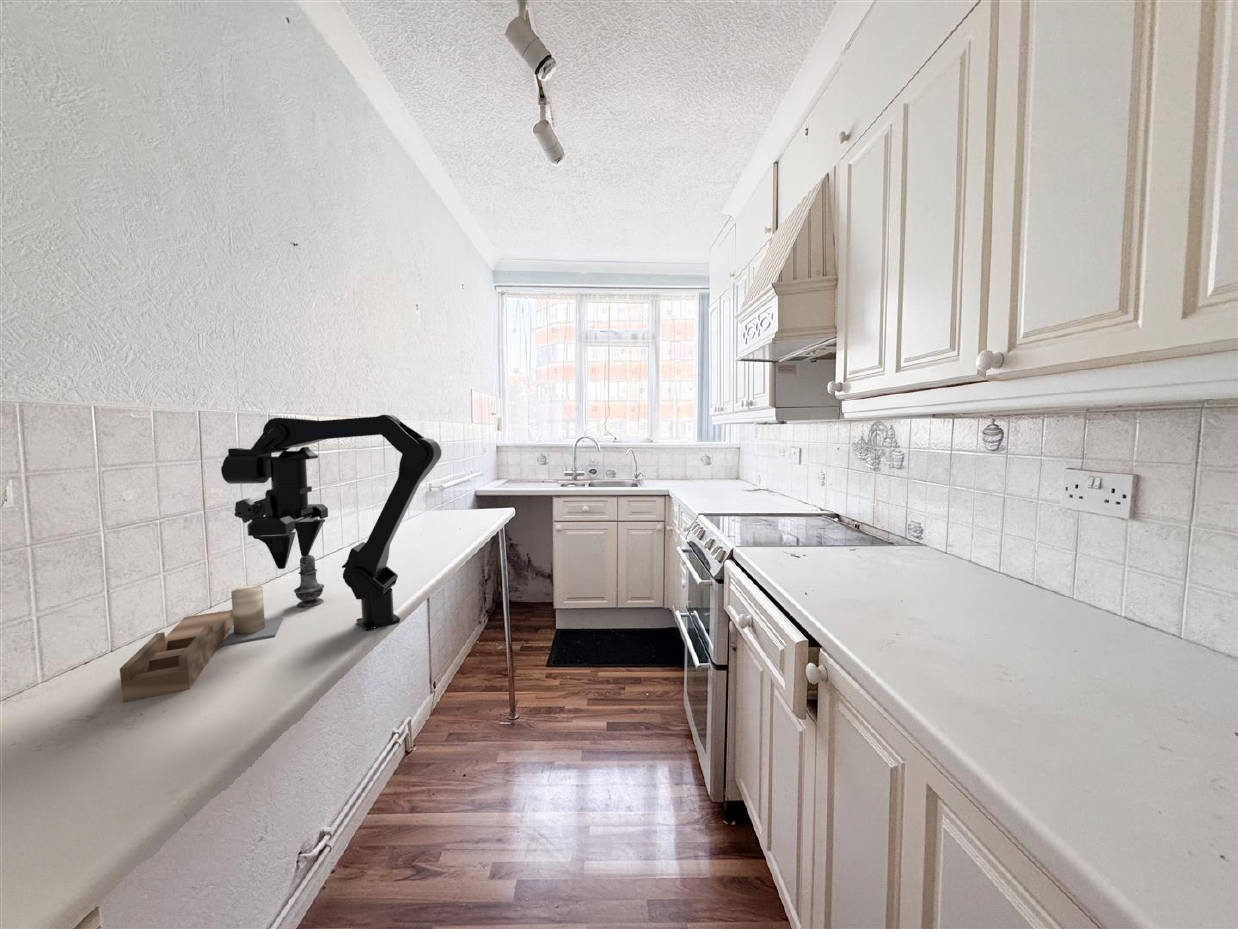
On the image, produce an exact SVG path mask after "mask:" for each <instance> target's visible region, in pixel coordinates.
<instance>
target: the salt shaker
mask: <svg viewBox="0 0 1238 929" xmlns="http://www.w3.org/2000/svg"><path fill="white" fill-rule="evenodd" d="M315 560H316V559H315V556H314V555H310V554H309V555H308V556H300V558H299V568H300V569H299V572H298V574H299V575H300V576H299V577H300V585H299V586H298V587H296V588H294V589H293V593H294V594H295V597H296V598H297V599H298V600H300V601H299V602H298V603H296V608H298V607H299V608H298V609H305V608H306V607H307V608H312V607H316V606H319V605H321V603H322V604H323V603H324V602H325V600H324V599H323V598H320V596H321V595H322V594H323V591H324V588H325V584H322V583H319V582H318V579H317V572H318V569H317V568H316V561H315Z"/></svg>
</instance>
